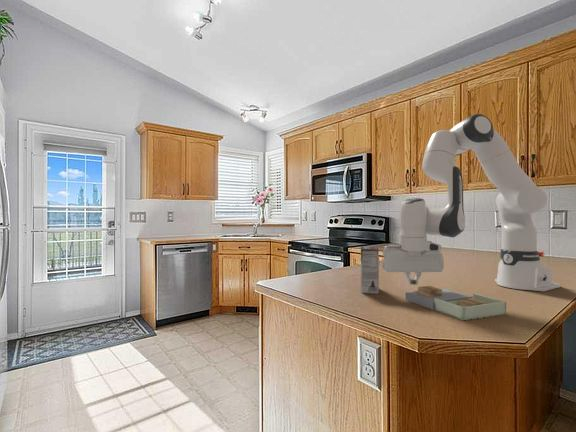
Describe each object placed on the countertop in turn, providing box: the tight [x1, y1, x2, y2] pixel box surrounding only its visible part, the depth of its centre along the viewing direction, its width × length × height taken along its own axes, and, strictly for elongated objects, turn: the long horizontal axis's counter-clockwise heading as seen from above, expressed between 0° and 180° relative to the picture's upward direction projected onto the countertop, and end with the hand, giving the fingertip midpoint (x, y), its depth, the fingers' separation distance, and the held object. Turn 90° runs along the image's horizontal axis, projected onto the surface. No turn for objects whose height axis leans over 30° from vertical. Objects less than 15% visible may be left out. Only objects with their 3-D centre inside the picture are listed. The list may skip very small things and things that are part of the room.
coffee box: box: [360, 246, 380, 295], centre depth 120 cm, size 9×6×16 cm
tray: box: [433, 293, 507, 322], centre depth 94 cm, size 16×10×4 cm, turn 110°
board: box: [405, 287, 473, 311], centre depth 105 cm, size 16×12×2 cm
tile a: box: [459, 298, 486, 307], centre depth 97 cm, size 5×5×2 cm
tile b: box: [417, 285, 442, 297], centre depth 105 cm, size 5×5×2 cm
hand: (412, 284), depth 112 cm, fingers closed
